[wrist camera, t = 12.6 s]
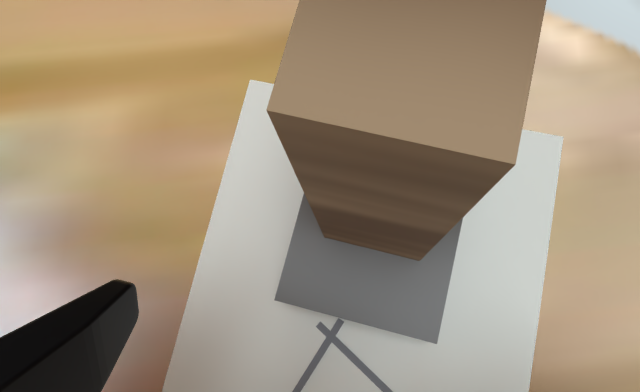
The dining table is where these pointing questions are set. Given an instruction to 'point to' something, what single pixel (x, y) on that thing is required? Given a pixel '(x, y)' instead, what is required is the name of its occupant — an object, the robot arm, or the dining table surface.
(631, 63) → the dining table surface
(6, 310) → the dining table surface
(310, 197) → the brown post on stand
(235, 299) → the primed board
